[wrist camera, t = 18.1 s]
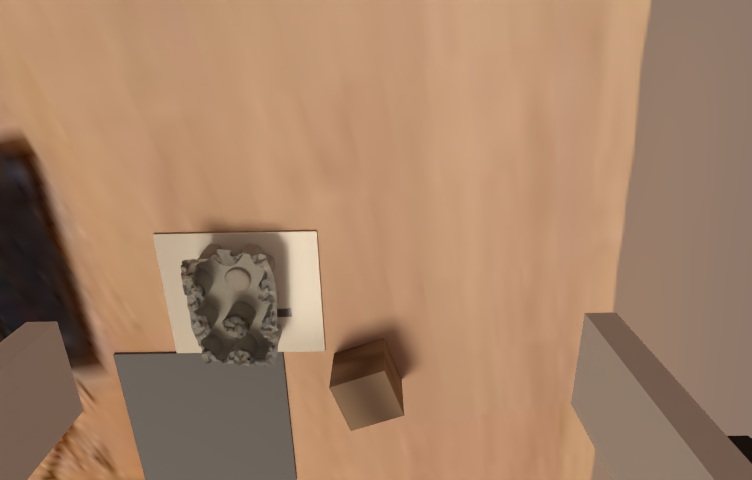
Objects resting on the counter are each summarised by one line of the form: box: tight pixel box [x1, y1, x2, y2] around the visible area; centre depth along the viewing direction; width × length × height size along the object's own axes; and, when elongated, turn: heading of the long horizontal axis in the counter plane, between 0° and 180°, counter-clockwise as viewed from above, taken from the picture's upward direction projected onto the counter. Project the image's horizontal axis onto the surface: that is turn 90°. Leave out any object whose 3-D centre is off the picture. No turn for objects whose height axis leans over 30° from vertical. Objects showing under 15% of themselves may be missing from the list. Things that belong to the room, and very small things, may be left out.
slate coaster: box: [114, 352, 297, 480], centre depth 49 cm, size 16×16×1 cm
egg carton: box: [181, 244, 282, 367], centre depth 42 cm, size 11×8×4 cm
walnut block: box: [329, 338, 404, 431], centre depth 45 cm, size 5×5×5 cm
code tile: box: [153, 231, 325, 354], centre depth 44 cm, size 14×12×1 cm
